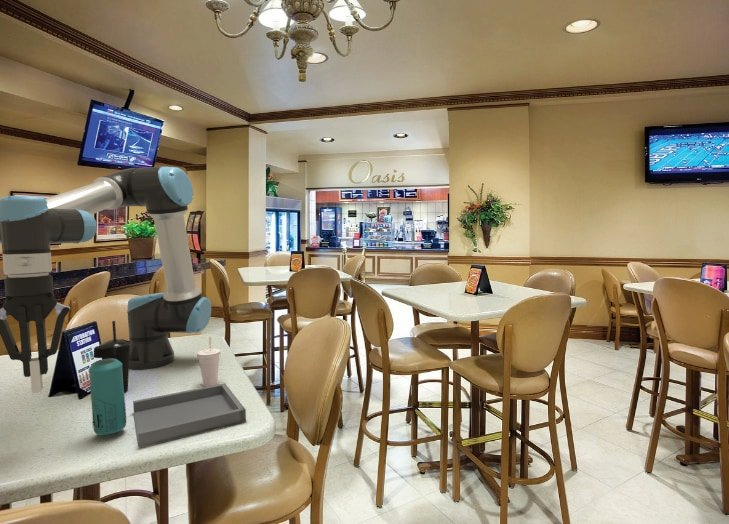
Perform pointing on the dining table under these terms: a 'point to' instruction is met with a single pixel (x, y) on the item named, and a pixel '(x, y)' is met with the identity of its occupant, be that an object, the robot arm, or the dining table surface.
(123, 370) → the drinking cup
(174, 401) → the charcoal tray
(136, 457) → the dining table surface
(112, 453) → the dining table surface
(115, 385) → the beverage bottle
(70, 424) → the dining table surface
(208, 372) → the smoothie
